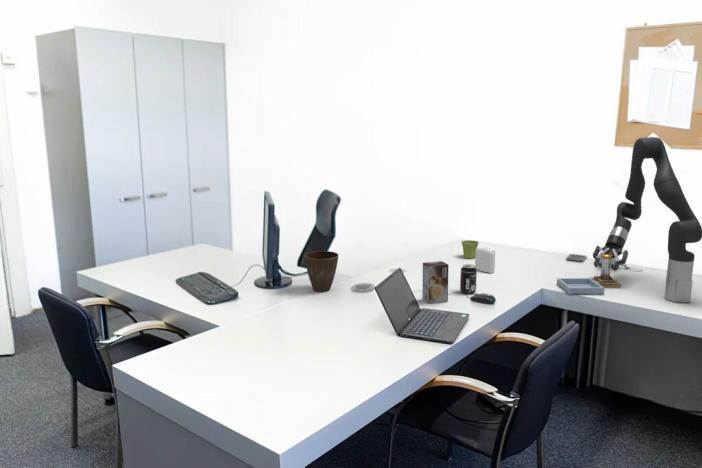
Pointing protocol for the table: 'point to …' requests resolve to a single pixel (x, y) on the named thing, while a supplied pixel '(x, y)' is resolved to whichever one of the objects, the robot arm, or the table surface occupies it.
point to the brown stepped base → (607, 282)
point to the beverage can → (468, 279)
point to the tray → (580, 286)
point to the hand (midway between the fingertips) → (604, 268)
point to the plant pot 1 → (321, 269)
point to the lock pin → (606, 266)
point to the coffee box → (435, 282)
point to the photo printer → (485, 259)
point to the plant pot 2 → (469, 248)
